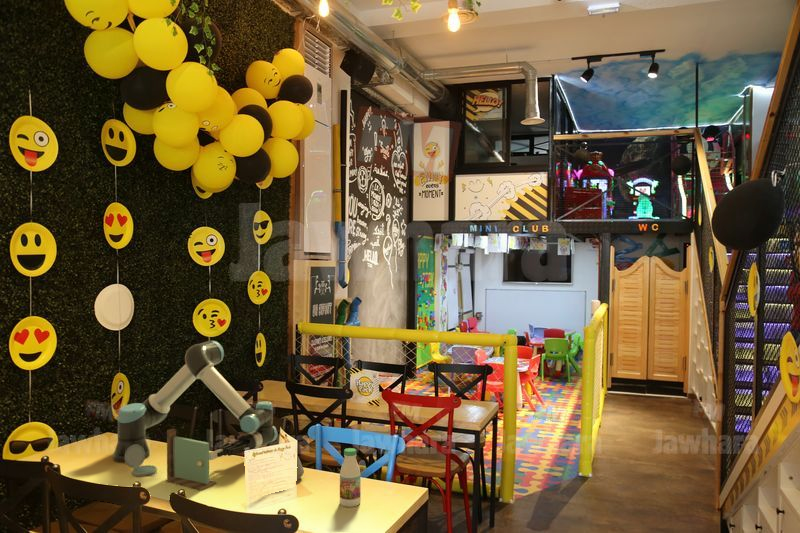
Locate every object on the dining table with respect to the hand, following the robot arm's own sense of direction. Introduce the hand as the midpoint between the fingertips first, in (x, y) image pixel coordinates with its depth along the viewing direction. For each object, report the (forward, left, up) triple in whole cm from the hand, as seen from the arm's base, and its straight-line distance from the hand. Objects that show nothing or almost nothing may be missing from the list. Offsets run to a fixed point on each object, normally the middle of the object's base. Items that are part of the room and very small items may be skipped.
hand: (210, 456), depth 250 cm
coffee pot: (+22, +22, -9) cm, 33 cm away
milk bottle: (+56, +33, -9) cm, 66 cm away
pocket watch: (-23, -20, -9) cm, 32 cm away
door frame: (0, -8, -9) cm, 12 cm away
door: (+1, -9, -8) cm, 12 cm away
